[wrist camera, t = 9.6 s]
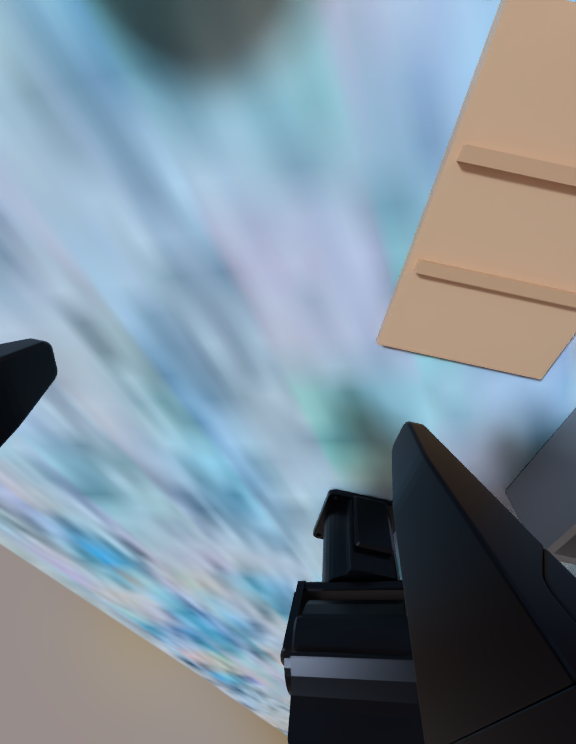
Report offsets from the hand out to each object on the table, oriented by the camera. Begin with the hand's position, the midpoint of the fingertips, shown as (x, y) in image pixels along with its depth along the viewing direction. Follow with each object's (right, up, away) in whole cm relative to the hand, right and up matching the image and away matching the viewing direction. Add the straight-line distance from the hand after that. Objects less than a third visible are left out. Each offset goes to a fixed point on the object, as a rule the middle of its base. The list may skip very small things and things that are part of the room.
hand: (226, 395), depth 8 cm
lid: (+13, +9, +7) cm, 17 cm away
